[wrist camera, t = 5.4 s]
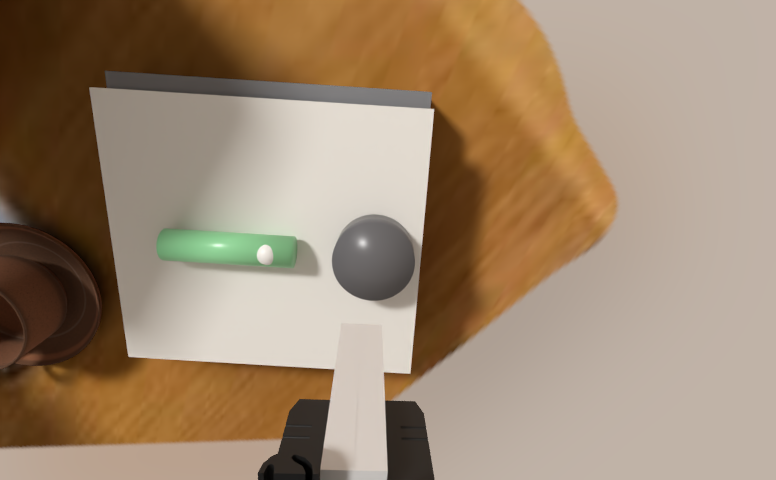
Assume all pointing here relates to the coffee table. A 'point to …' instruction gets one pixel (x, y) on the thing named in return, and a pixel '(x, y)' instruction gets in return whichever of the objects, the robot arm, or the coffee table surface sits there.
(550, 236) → the coffee table surface
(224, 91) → the level base
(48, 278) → the cup and saucer
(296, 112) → the level plate
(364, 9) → the coffee table surface
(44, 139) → the coffee table surface
